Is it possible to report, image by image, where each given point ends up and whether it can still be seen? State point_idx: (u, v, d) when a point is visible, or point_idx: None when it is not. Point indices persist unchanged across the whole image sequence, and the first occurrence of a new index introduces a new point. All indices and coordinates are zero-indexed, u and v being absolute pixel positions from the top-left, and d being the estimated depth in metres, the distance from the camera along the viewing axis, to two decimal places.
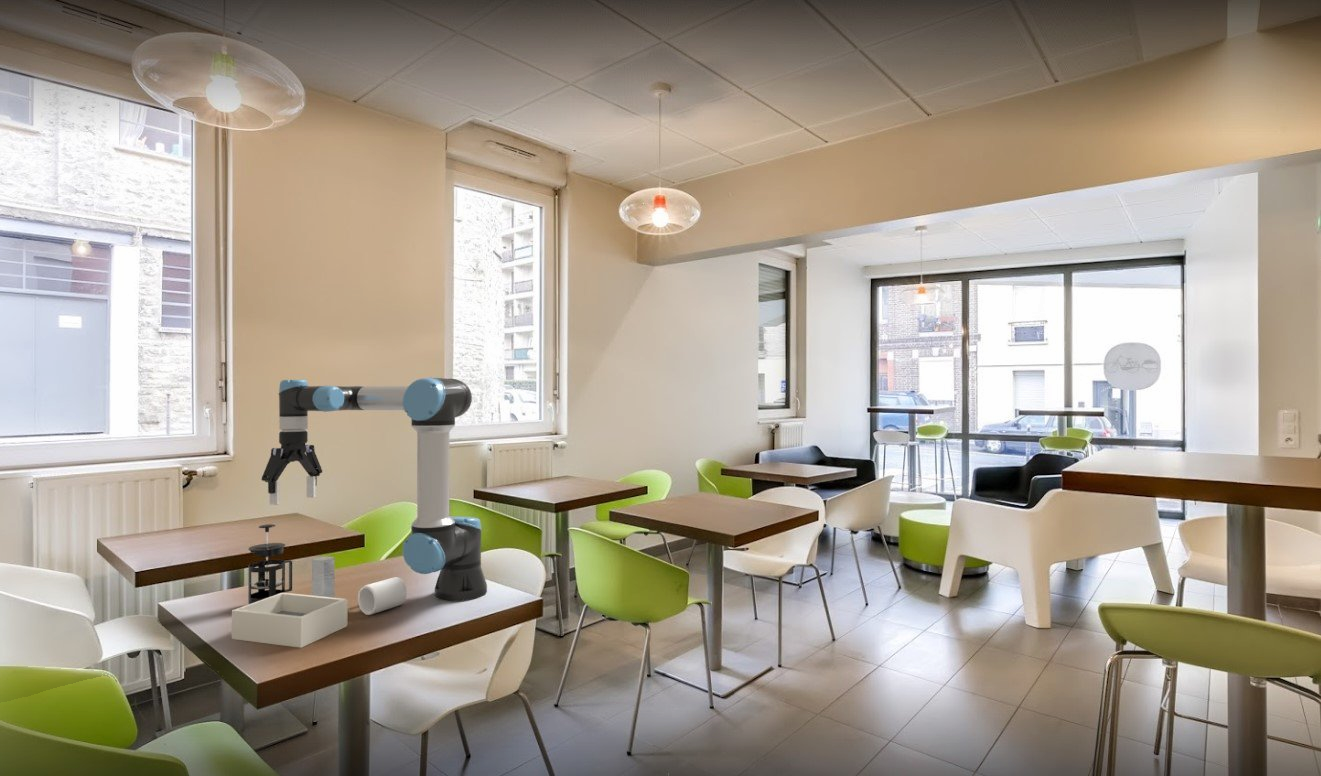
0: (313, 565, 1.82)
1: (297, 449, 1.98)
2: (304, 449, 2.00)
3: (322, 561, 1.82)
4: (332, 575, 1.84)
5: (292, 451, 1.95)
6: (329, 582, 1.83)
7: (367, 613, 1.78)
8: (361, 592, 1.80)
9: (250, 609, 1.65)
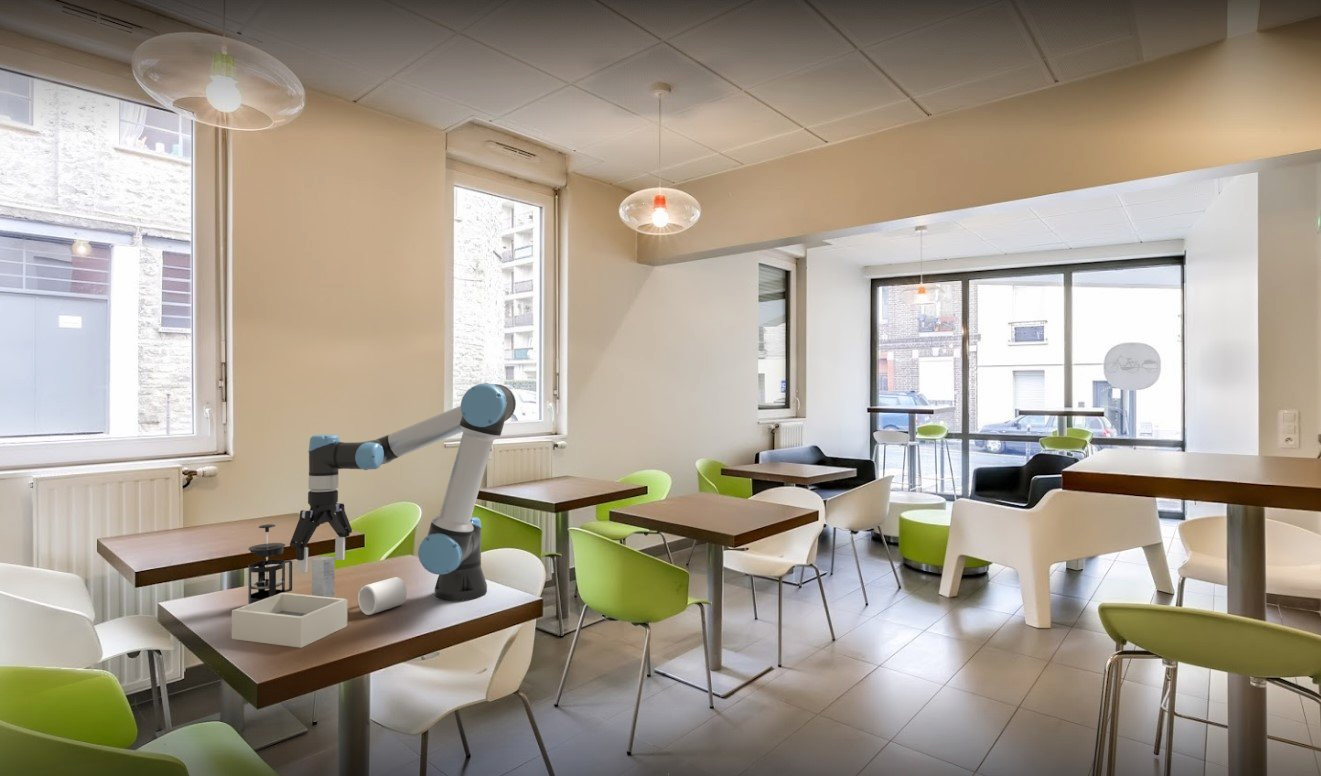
0: (313, 565, 1.82)
1: (327, 510, 1.84)
2: (334, 509, 1.87)
3: (322, 561, 1.82)
4: (332, 575, 1.84)
5: (322, 513, 1.82)
6: (329, 582, 1.83)
7: (367, 613, 1.78)
8: (361, 592, 1.80)
9: (250, 609, 1.65)
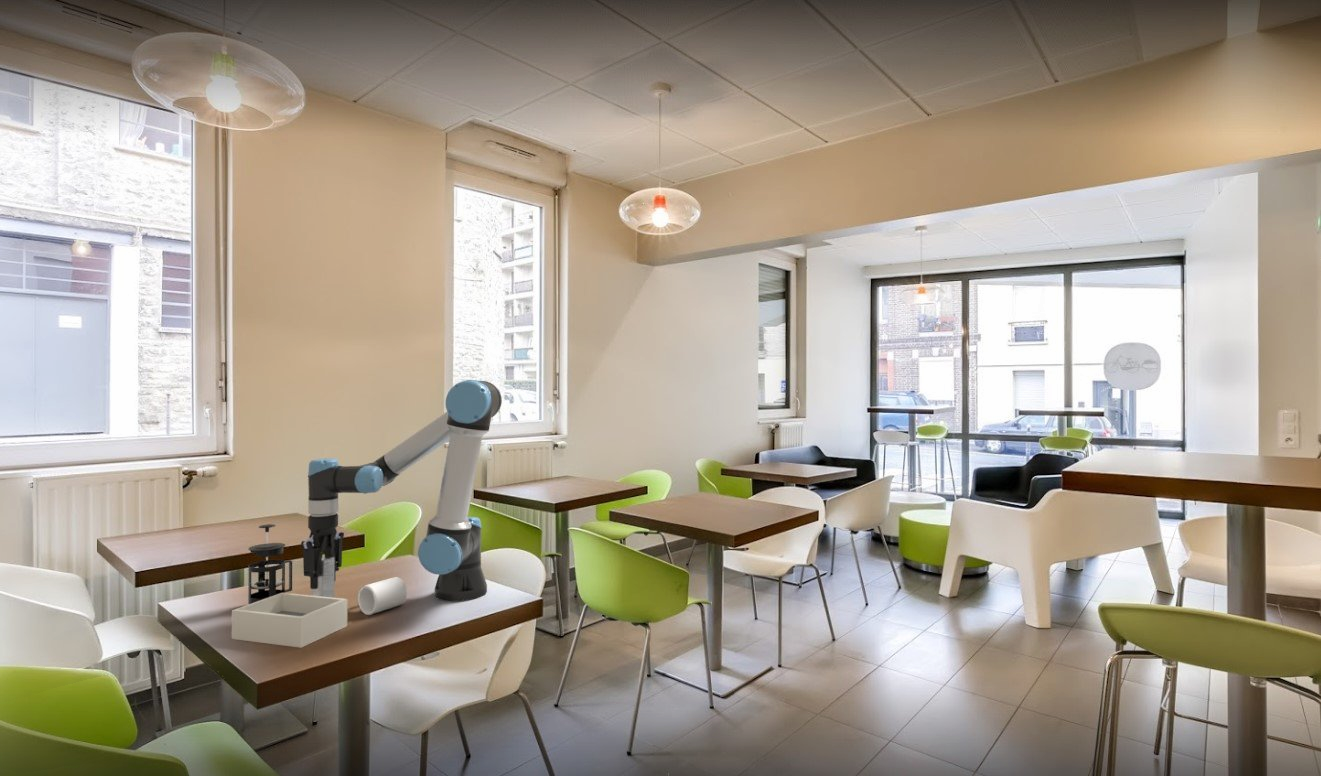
0: None
1: (328, 529, 1.84)
2: (334, 533, 1.86)
3: (322, 561, 1.82)
4: (332, 575, 1.84)
5: (322, 538, 1.82)
6: (329, 582, 1.83)
7: (367, 613, 1.78)
8: (361, 592, 1.80)
9: (250, 609, 1.65)
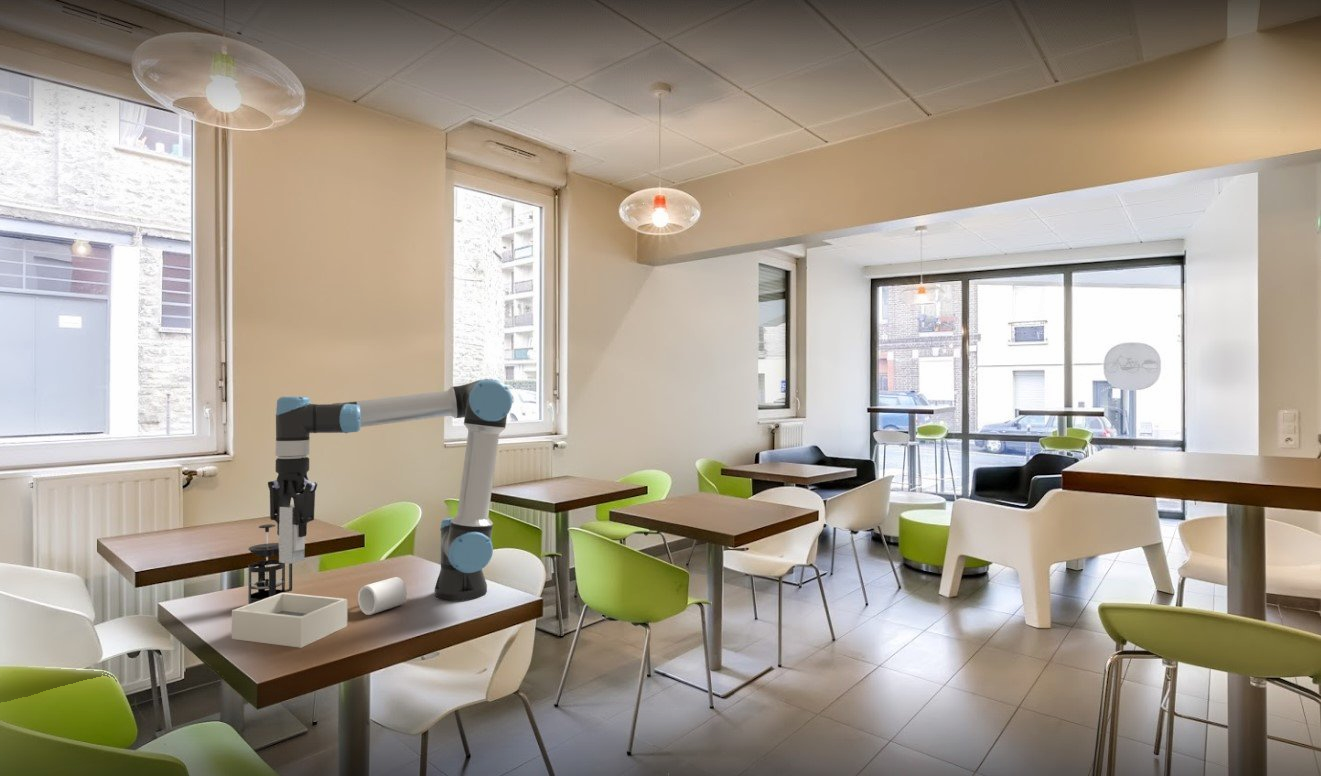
0: None
1: (291, 475, 1.65)
2: (298, 481, 1.64)
3: None
4: (289, 527, 1.64)
5: None
6: (286, 533, 1.64)
7: (367, 613, 1.78)
8: (361, 592, 1.80)
9: (250, 609, 1.65)
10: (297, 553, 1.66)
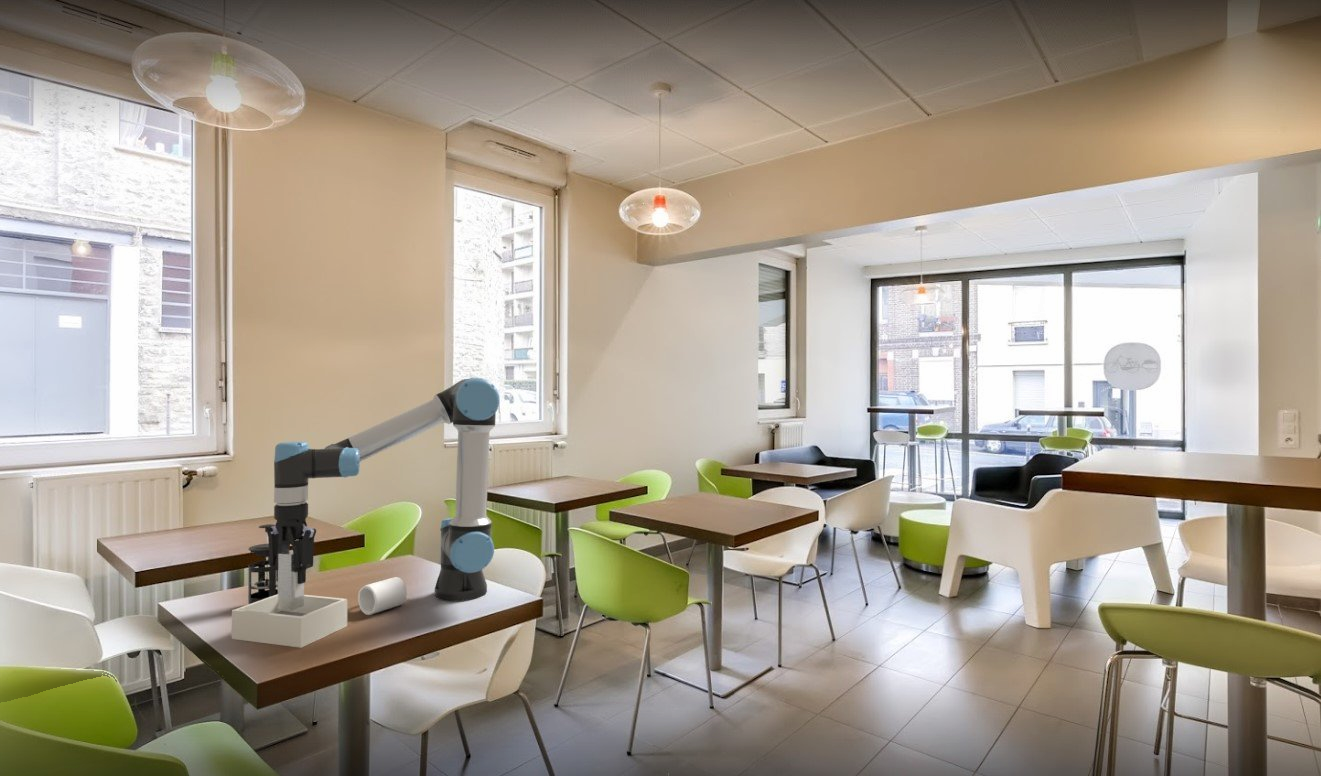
0: None
1: (290, 521, 1.64)
2: (297, 527, 1.63)
3: None
4: (288, 574, 1.63)
5: None
6: (285, 580, 1.63)
7: (367, 613, 1.78)
8: (361, 592, 1.80)
9: (250, 609, 1.65)
10: (296, 600, 1.65)
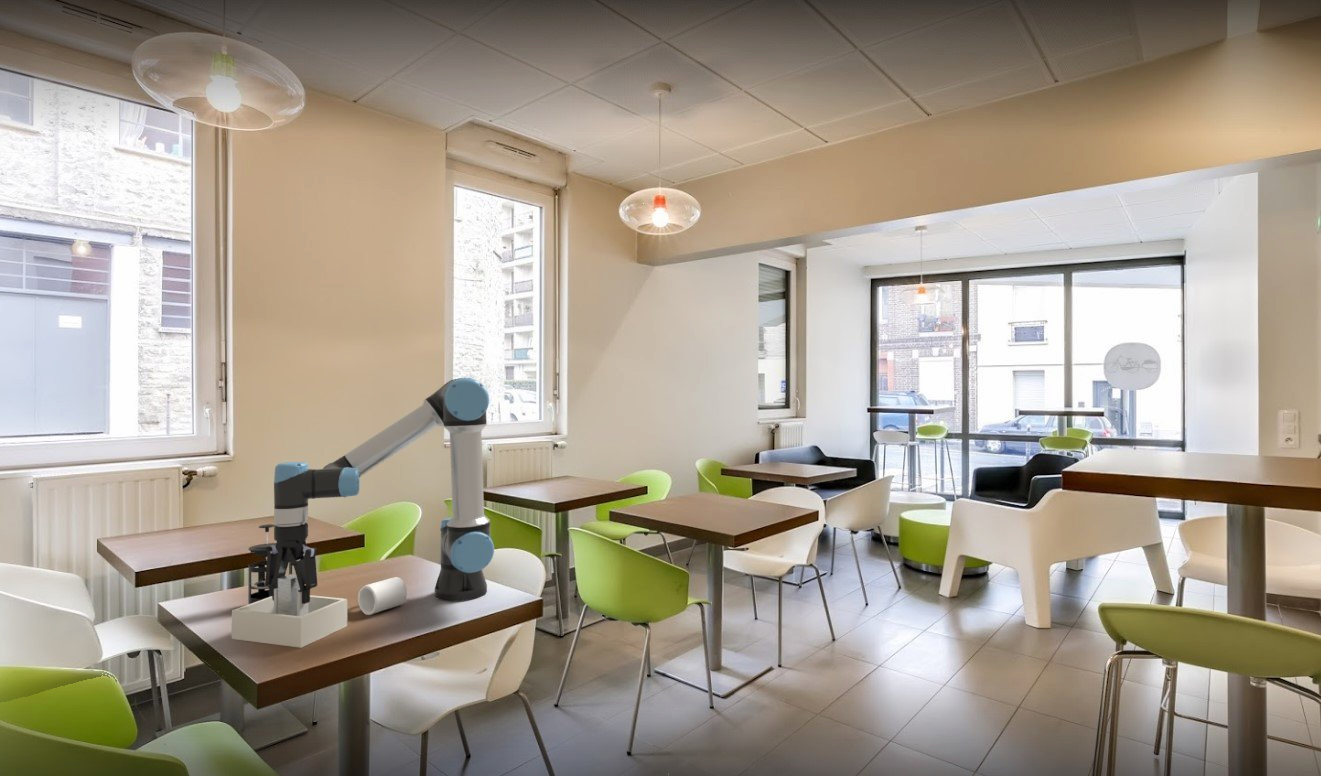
0: None
1: (289, 543, 1.64)
2: (297, 548, 1.63)
3: None
4: (288, 599, 1.63)
5: None
6: (285, 605, 1.63)
7: (367, 613, 1.78)
8: (361, 592, 1.80)
9: (250, 609, 1.65)
10: None
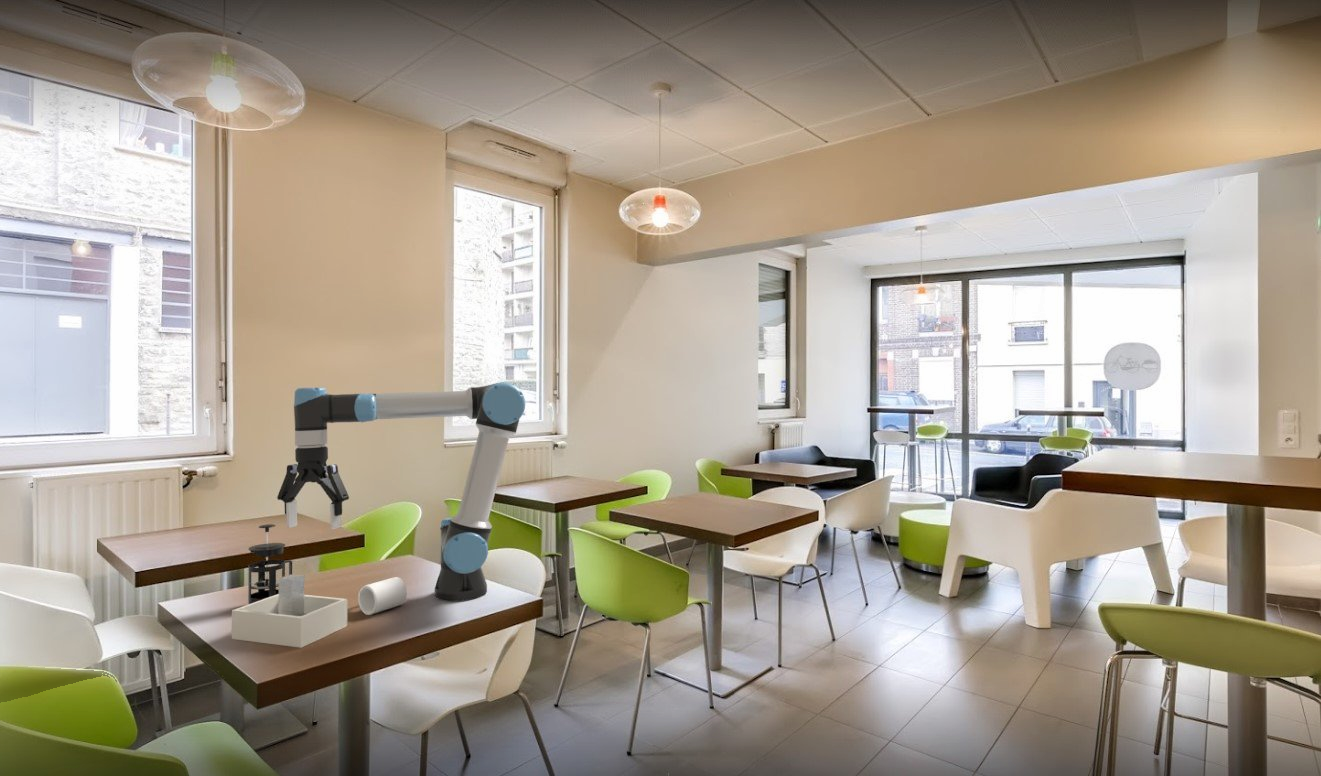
0: None
1: (310, 468, 1.70)
2: (318, 469, 1.69)
3: None
4: (289, 599, 1.63)
5: None
6: (285, 605, 1.63)
7: (367, 613, 1.78)
8: (361, 592, 1.80)
9: (250, 609, 1.65)
10: None
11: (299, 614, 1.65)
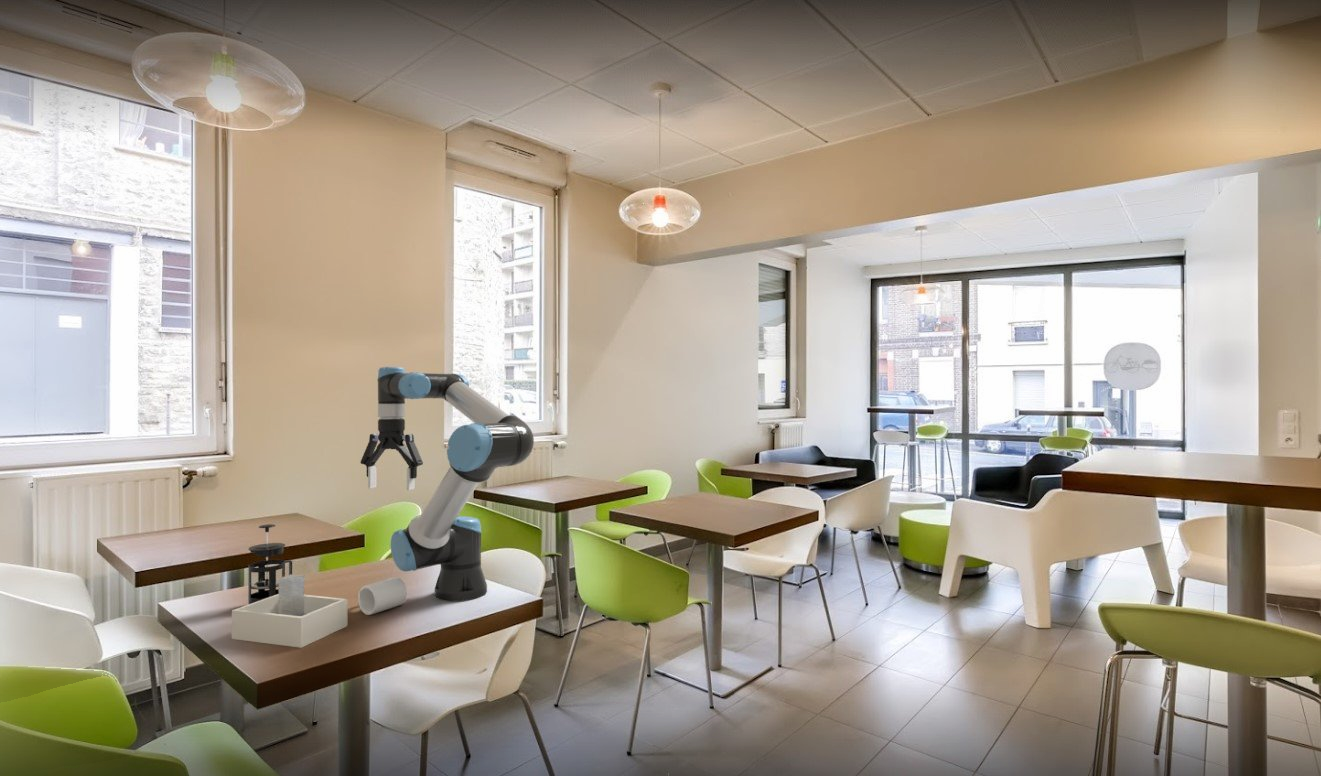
0: None
1: (390, 437, 1.96)
2: (397, 438, 1.95)
3: None
4: (289, 599, 1.63)
5: None
6: (285, 605, 1.63)
7: (367, 613, 1.78)
8: (361, 592, 1.80)
9: (250, 609, 1.65)
10: None
11: (299, 614, 1.65)
